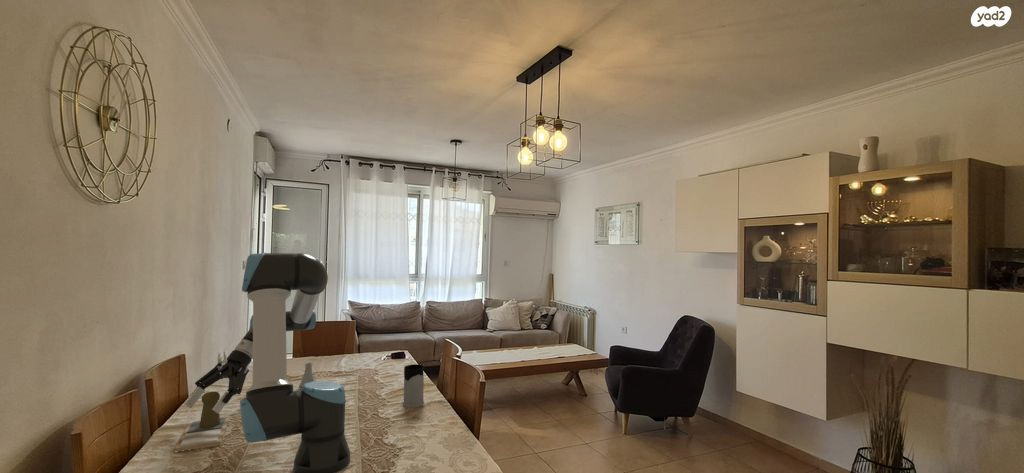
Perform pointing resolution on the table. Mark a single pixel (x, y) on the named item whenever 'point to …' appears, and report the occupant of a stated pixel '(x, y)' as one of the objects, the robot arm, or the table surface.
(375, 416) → the table surface
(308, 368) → the flask
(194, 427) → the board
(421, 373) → the glass holder
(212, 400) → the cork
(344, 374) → the table surface
